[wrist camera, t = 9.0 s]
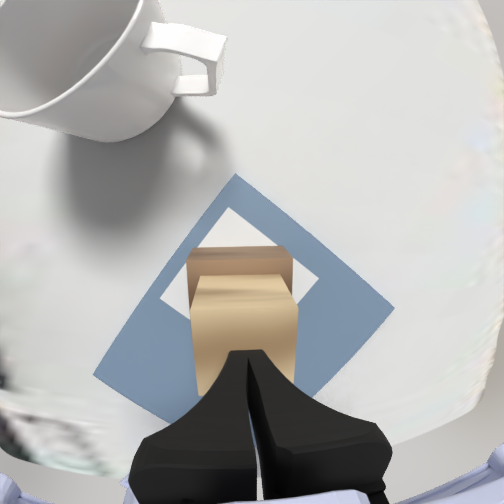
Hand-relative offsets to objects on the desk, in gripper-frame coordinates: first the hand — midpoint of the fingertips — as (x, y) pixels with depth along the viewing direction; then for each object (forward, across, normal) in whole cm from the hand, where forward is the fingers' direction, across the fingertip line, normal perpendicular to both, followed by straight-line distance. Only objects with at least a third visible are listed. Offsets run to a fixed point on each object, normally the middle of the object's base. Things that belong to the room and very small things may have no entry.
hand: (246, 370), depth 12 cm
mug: (+10, +6, -14) cm, 19 cm away
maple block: (+6, 0, 0) cm, 6 cm away
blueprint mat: (+10, 0, +5) cm, 11 cm away
